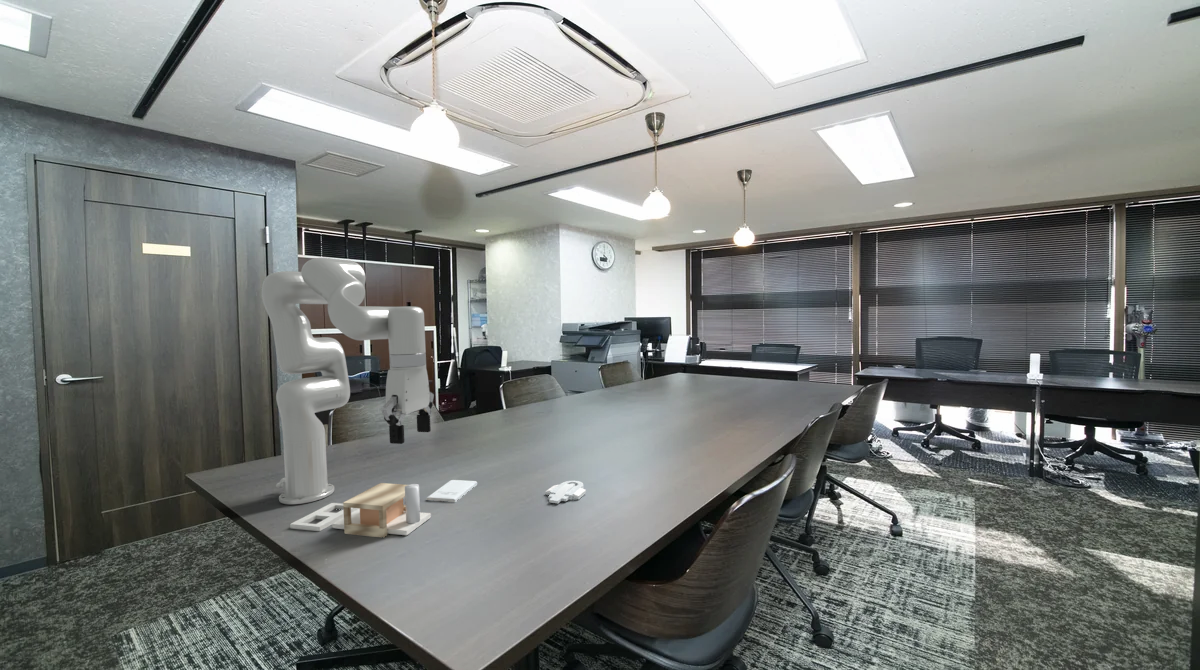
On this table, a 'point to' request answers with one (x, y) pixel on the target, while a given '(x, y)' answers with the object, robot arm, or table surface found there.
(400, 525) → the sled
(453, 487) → the external hard drive
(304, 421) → the robot arm
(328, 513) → the frame
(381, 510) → the tunnel
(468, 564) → the table surface
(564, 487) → the toy rocket
